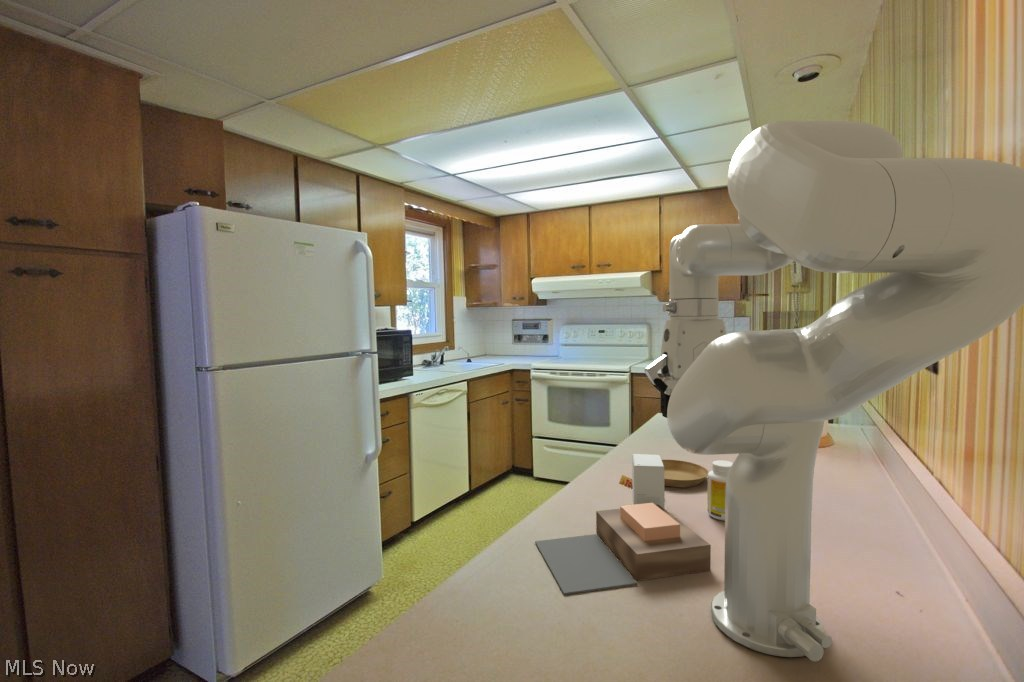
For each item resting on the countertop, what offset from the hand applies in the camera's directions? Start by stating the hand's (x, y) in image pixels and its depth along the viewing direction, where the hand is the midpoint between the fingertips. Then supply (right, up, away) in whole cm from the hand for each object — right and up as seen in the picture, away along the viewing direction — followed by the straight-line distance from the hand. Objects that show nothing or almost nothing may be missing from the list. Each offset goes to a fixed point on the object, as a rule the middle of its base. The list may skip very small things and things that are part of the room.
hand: (693, 415), depth 82 cm
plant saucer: (+8, -20, +34) cm, 40 cm away
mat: (-19, -23, -4) cm, 30 cm away
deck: (-7, -22, 0) cm, 23 cm away
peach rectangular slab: (-7, -18, -1) cm, 20 cm away
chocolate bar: (-2, -21, +26) cm, 34 cm away
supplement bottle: (+10, -21, +13) cm, 27 cm away
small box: (-3, -21, +15) cm, 26 cm away
